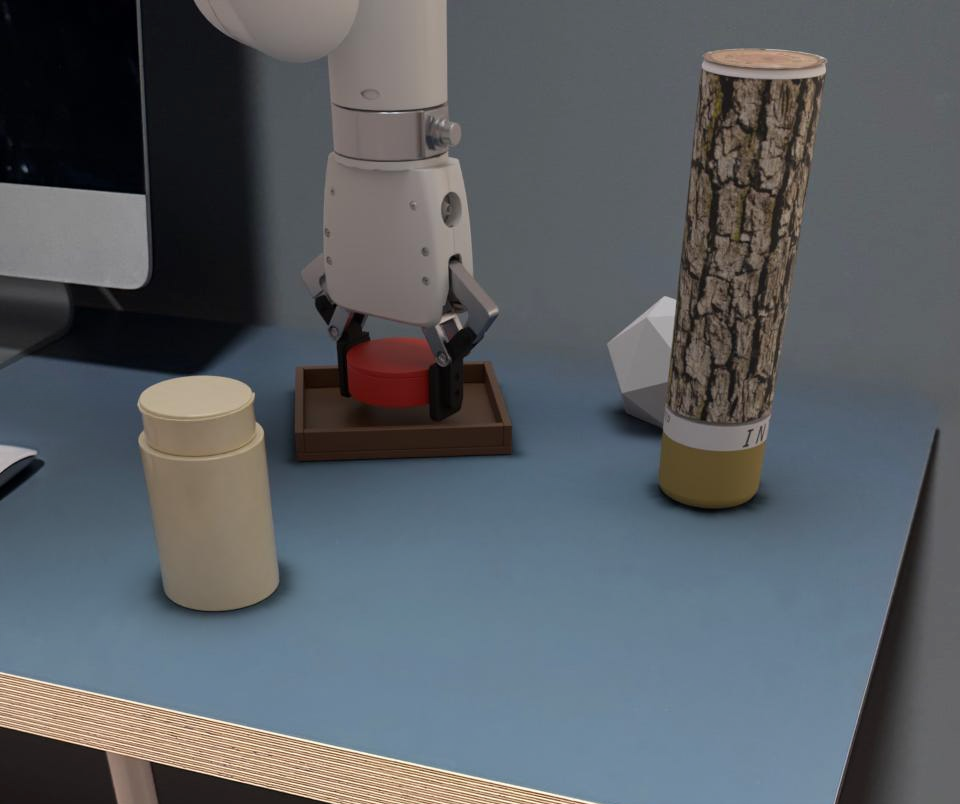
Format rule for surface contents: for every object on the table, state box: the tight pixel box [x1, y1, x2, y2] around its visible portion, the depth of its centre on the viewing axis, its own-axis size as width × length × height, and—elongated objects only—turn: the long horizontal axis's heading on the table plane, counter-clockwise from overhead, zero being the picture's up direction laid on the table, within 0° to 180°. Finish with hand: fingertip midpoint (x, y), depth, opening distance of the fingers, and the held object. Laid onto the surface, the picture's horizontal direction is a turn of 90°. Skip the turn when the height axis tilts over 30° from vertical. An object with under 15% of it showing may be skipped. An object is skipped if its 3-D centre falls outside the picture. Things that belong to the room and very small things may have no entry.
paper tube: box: [657, 48, 828, 510], centre depth 77 cm, size 7×7×25 cm
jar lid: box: [347, 336, 436, 408], centre depth 91 cm, size 8×8×2 cm
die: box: [606, 295, 677, 429], centre depth 92 cm, size 8×9×10 cm
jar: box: [136, 375, 281, 612], centre depth 71 cm, size 7×7×11 cm
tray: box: [294, 360, 513, 462], centre depth 93 cm, size 15×13×2 cm
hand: (400, 402), depth 93 cm, fingers closed on jar lid, 7 cm apart
